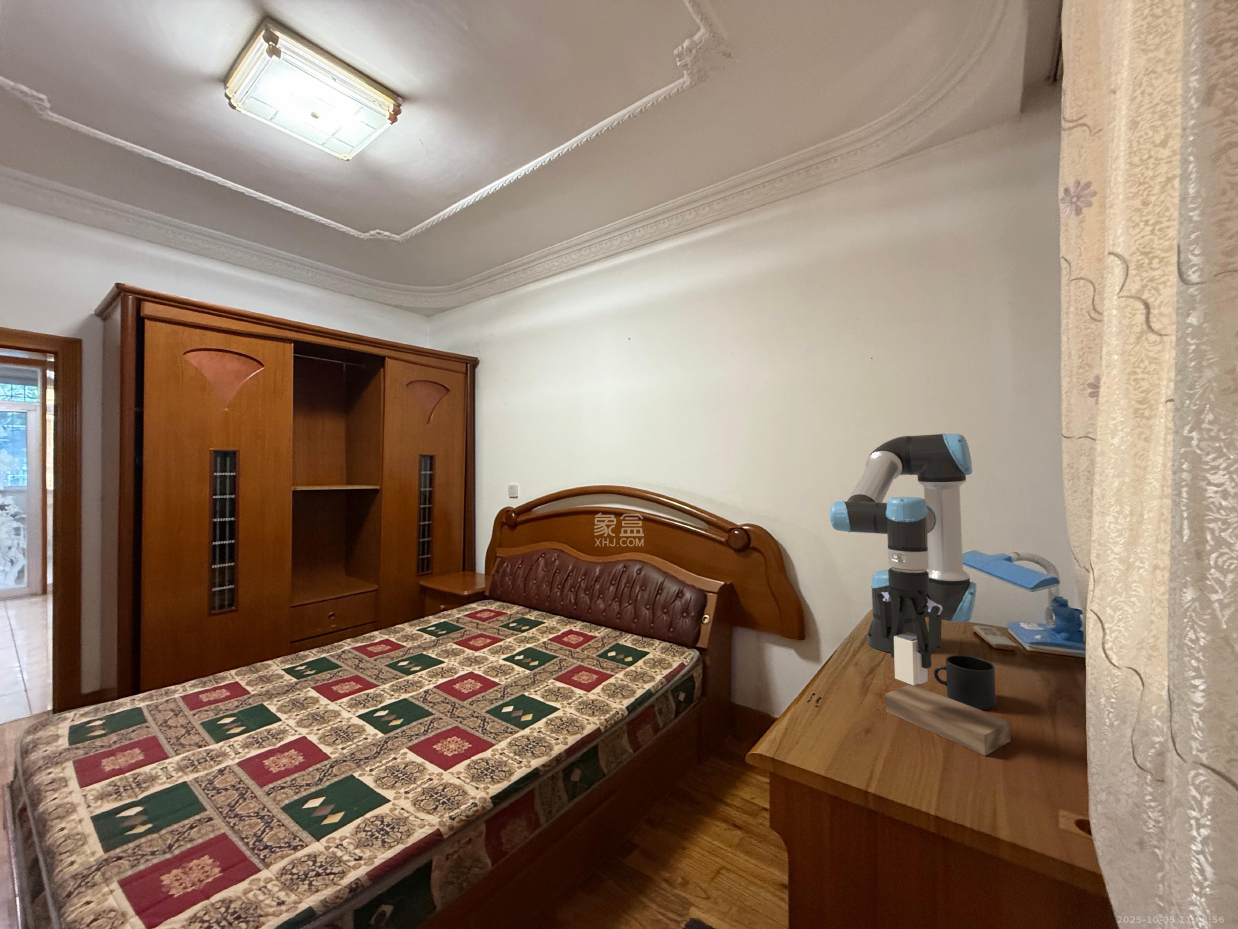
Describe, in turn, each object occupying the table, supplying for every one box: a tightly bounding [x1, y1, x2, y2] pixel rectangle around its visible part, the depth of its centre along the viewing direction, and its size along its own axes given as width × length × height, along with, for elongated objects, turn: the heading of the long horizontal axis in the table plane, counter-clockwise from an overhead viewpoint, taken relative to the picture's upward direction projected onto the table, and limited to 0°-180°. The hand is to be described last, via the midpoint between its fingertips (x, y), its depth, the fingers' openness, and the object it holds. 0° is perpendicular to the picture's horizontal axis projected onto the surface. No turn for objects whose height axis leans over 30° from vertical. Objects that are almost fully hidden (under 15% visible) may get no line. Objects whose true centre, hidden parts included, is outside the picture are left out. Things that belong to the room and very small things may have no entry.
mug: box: [933, 654, 997, 711], centre depth 116 cm, size 9×12×9 cm
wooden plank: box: [884, 683, 1012, 757], centre depth 105 cm, size 10×20×4 cm, turn 28°
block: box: [893, 632, 919, 686], centre depth 104 cm, size 5×4×9 cm
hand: (911, 677), depth 104 cm, fingers closed on block, 4 cm apart
